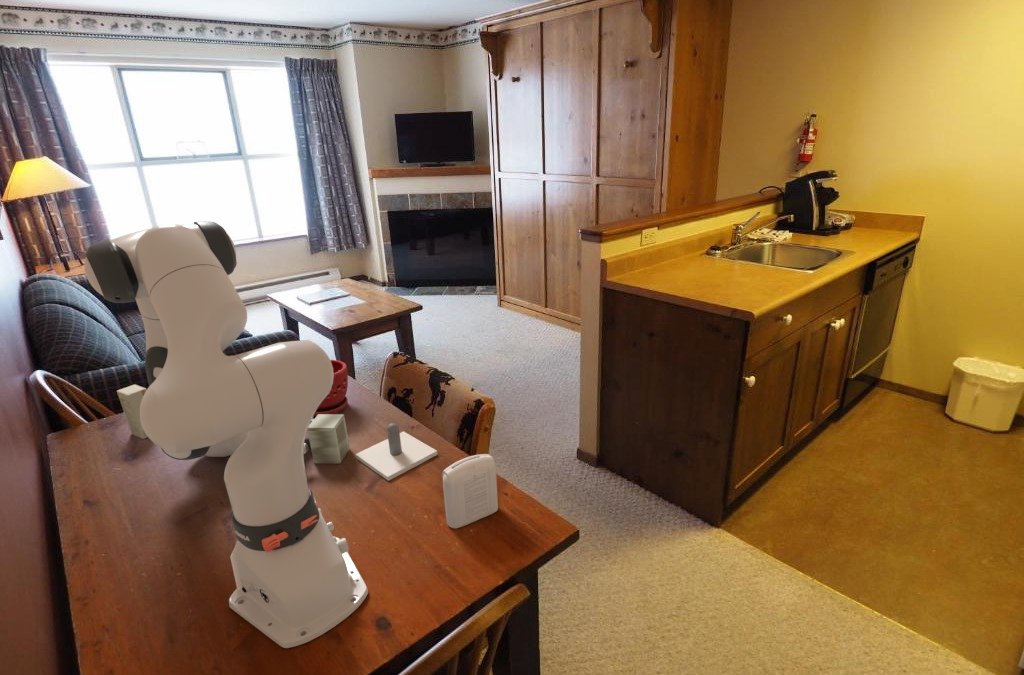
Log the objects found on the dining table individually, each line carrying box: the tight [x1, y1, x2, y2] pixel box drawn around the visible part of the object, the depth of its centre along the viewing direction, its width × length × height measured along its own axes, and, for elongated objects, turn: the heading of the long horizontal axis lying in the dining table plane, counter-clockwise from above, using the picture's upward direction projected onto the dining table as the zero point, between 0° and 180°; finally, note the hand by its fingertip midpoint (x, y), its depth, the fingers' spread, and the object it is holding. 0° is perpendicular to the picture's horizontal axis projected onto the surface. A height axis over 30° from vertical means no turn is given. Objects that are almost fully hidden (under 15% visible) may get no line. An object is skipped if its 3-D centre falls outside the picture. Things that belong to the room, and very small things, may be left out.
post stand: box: [354, 422, 438, 482], centre depth 120 cm, size 13×13×8 cm
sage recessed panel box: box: [307, 413, 351, 464], centre depth 121 cm, size 6×6×9 cm
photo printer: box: [441, 453, 499, 529], centre depth 99 cm, size 10×4×12 cm, turn 122°
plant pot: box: [313, 359, 349, 417], centre depth 143 cm, size 13×13×12 cm
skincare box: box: [116, 384, 149, 440], centre depth 134 cm, size 6×4×12 cm
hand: (315, 437), depth 121 cm, fingers open, 8 cm apart
